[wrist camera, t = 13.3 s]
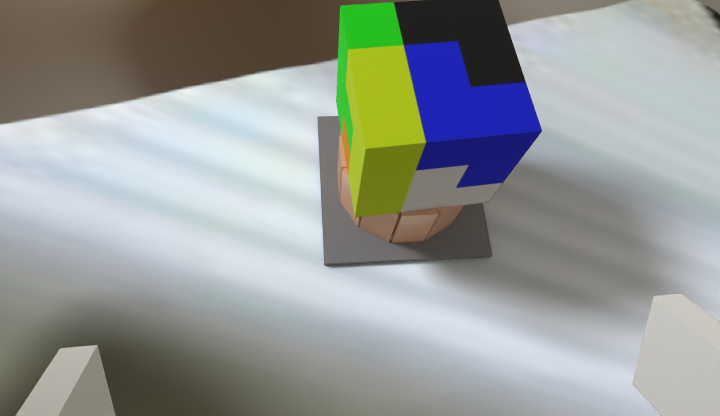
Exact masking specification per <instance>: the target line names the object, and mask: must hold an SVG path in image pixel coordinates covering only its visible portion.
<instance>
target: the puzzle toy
mask: <svg viewBox="0 0 720 416" xmlns="http://www.w3.org/2000/svg"><path fill="white" fill-rule="evenodd" d="M336 102H337V109H338V115H339V121H340V128H341V134H342V140H343V147H344V153H345V159H346V165H347V172H348V178H349V184H350V191H351V197H352V203H353V210H354V216H355V218H357V217H365V216H374V215H383V214H391V213H400V212H408V211H417V210H425V209H434V208H443V207H451V206H460V205H468V204H477V203H485V202H488V201H489V200H490V199H491V198H492V196H493V195H494V194H495V192H496V191H497V190H498V188H499V187H500V186H501V184H502V183H503V182H504V180H505V179H506V178H507V176H508V175H509V174H510V173H511V171H512V170H513V169H514V167H515V166H516V165H517V163H518V162H519V161H520V159H521V158H522V157H523V155H524V154H525V153H526V151H527V150H528V149H529V148H530V146H531V145H532V144H533V142H534V141H535V140H536V138H537V137H538V136H539V134H540V133H541V132H542V130H541V127H540V124H539V121H538V118H537V115H536V112H535V109H534V106H533V103H532V100H531V97H530V94H529V91H528V88H527V85H526V82H525V79H524V76H523V73H522V70H521V67H520V64H519V61H518V57H517V54H516V51H515V48H514V45H513V42H512V39H511V36H510V33H509V30H508V27H507V24H506V22H505V19H504V16H503V13H502V10H501V7H500V3H499V1H498V0H422V1H408V2H390V3H375V4H360V5H344V6H340V26H339V49H338V73H337V97H336Z"/></svg>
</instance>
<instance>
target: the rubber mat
mask: <svg viewBox="0 0 720 416" xmlns="http://www.w3.org/2000/svg"><path fill="white" fill-rule="evenodd" d="M340 132H341V128H340V121H339V116H325V117H318V137H319V159H320V180H321V202H322V224H323V245H324V265H339V264H359V263H379V262H399V261H419V260H439V259H458V258H478V257H490V256H491V255H492V253H491V248H490V242H489V236H488V231H487V225H486V220H485V214H484V209H483V203H477V204H468V205H464V206H463V207H462V209H461V210H460V212H459V213H458V215H457V216H456V218H455V219H454V221H453V222H452V223H451V225H449V226H448V227H446V228H444V229H443V230H441V231H440V232H438V233H437V234H435V235H434V236H432V237H431V238H429V239H427V240H425V239H424V241H419V242H397V243H391V241H389V242H387V241H385V240H383V239H381V238H379V237H377V236H375V235H373V234H371V233H368V232H366V231H364V230H362V229H360V226H357V225H356V224H355V222H354V221H353V219H352V218H351V217H350V215H349V214H348V212H347V211H346V210H345V208H344V207H343V205H342V204H341V202H340V199H339V191H338V174H337V168H338V150H339V136H340Z"/></svg>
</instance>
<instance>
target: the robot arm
mask: <svg viewBox="0 0 720 416" xmlns="http://www.w3.org/2000/svg"><path fill="white" fill-rule="evenodd" d="M632 384H633V386H634V387H635V388H636V389H637V390H638V391H639V392H640V393H641V394H642V395H643V397H644V398H645V399H646V400H647V401H648V402H649V403H650V404H651V405H652V407H653V408H654V409H655V410H656V411H657V412H658V413H659V414H660V415H661V416H720V321H718V320H717V319H716V318H714V317H713V316H712V315H710V314H709V313H708V312H706V311H705V310H703V309H702V308H701V307H699V306H698V305H697V304H695V303H694V302H693V301H691V300H690V299H689V298H687V297H686V296H685V295H683V294H672V295H660V296H654V297H653V301H652V305H651V309H650V313H649V317H648V321H647V325H646V329H645V334H644V338H643V342H642V346H641V350H640V354H639V358H638V362H637V366H636V370H635V374H634V379H633V383H632ZM16 416H115V412H114V408H113V404H112V400H111V396H110V392H109V388H108V384H107V381H106V377H105V373H104V369H103V365H102V361H101V357H100V353H99V349H98V345H92V346H81V347H70V348H60V349H59V351H58V352H57V354H56V355H55V357H54V358H53V360H52V361H51V363H50V364H49V366H48V367H47V369H46V370H45V372H44V373H43V375H42V377H41V378H40V380H39V381H38V383H37V384H36V386H35V387H34V389H33V390H32V392H31V393H30V395H29V396H28V398H27V399H26V401H25V402H24V404H23V405H22V407H21V408H20V410H19V411H18V413H17V414H16Z"/></svg>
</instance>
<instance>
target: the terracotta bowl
mask: <svg viewBox="0 0 720 416" xmlns="http://www.w3.org/2000/svg"><path fill="white" fill-rule="evenodd" d="M337 174H338V191H339V199H340V202H341V204H342V205H343V207H344V208H345V210H346V211H347V212H348V214H349V215H350V217H351V218H352V219H353V221H354V222H355V224H356V225H357V226H360V229H362V230H364V231H366V232H368V233H371V234H373V235H375V236H377V237H379V238H381V239H383V240H385V241H387V242H389V241H391V243H397V242H419V241H424V239H425V240H427V239H429V238H431V237H432V236H434V235H435V234H437V233H438V232H440V231H441V230H443V229H444V228H446V227H448V226H449V225H451V223H452V222H453V221H454V219H455V218H456V216H457V215H458V213H459V212H460V210H461V209H462V207H463V206H464V205H460V206H451V207H443V208H434V209H425V210H417V211H408V212H400V213H391V214H383V215H374V216H365V217H357V218H355V216H354V210H353V203H352V197H351V191H350V184H349V178H348V172H347V165H346V159H345V153H344V147H343V140H342V134H341V132H340V136H339V150H338V168H337Z"/></svg>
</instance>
